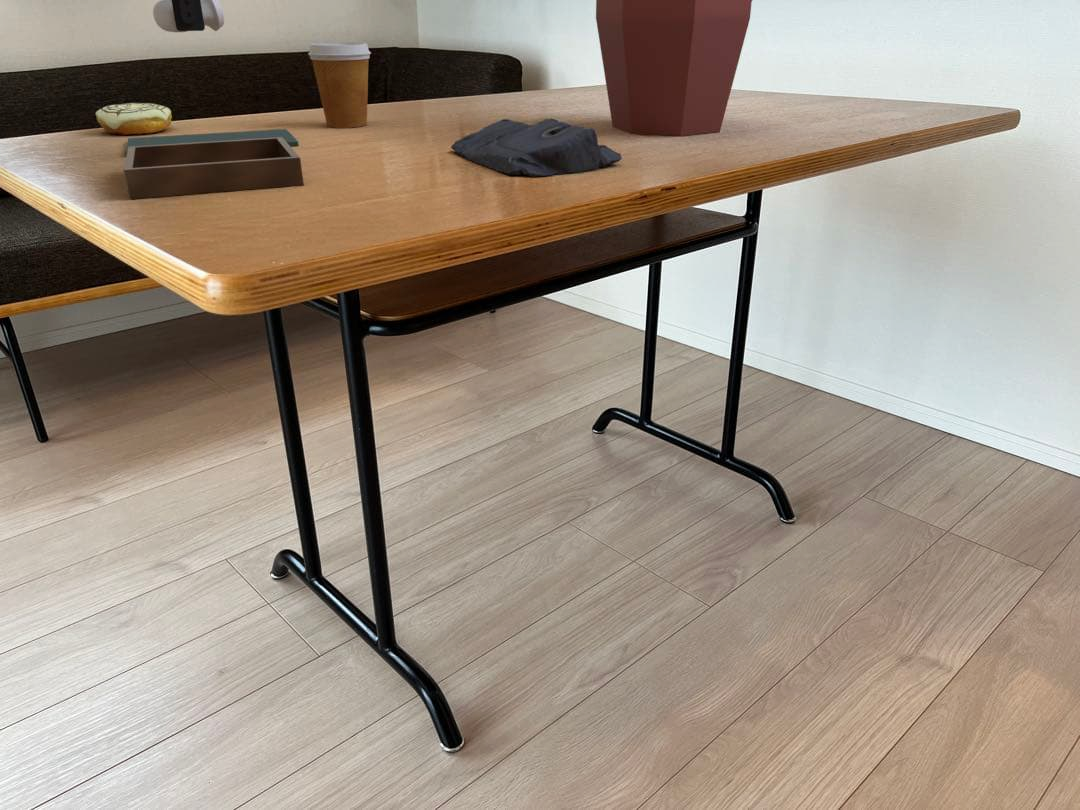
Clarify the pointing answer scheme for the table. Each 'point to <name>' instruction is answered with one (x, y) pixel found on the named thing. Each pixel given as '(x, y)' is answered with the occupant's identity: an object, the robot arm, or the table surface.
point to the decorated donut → (134, 118)
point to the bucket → (670, 62)
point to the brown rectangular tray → (211, 167)
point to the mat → (212, 138)
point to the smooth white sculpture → (209, 9)
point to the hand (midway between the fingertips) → (190, 28)
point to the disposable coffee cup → (342, 81)
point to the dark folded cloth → (536, 148)
